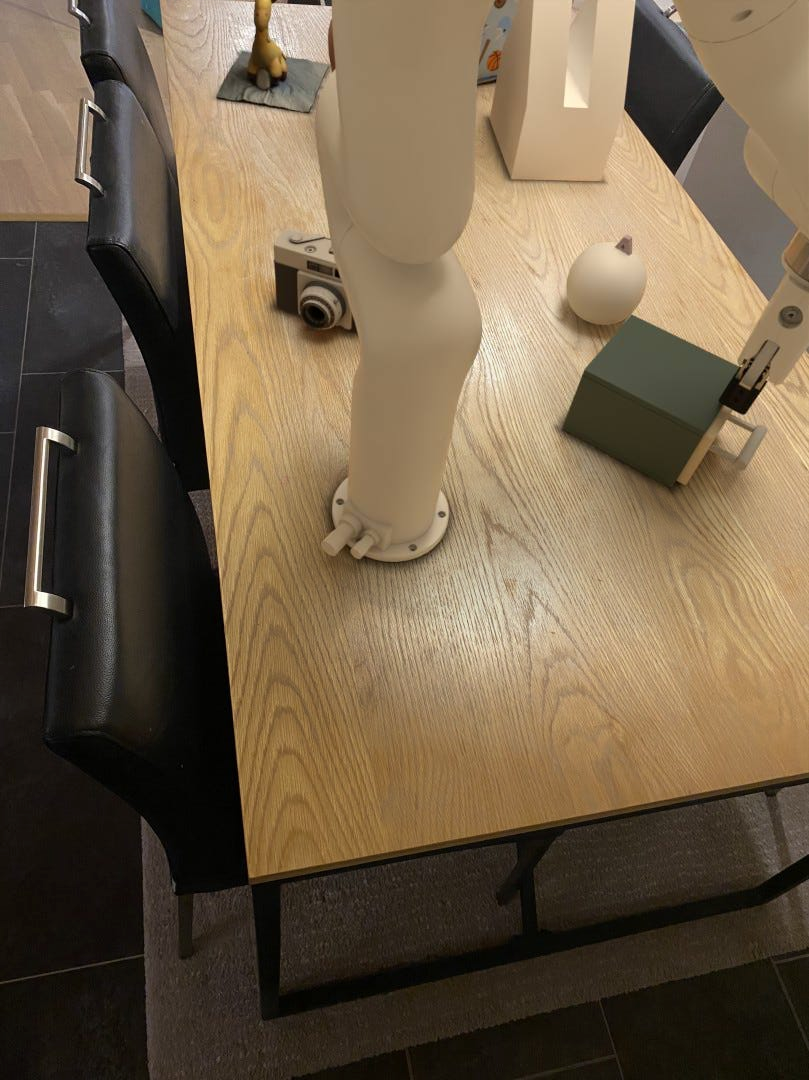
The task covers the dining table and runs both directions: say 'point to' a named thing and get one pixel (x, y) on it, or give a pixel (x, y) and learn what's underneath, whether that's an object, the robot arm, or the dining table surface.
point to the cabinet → (648, 399)
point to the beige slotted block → (562, 88)
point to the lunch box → (495, 38)
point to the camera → (310, 281)
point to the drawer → (706, 444)
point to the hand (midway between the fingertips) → (733, 404)
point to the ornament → (606, 282)
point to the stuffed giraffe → (271, 71)
